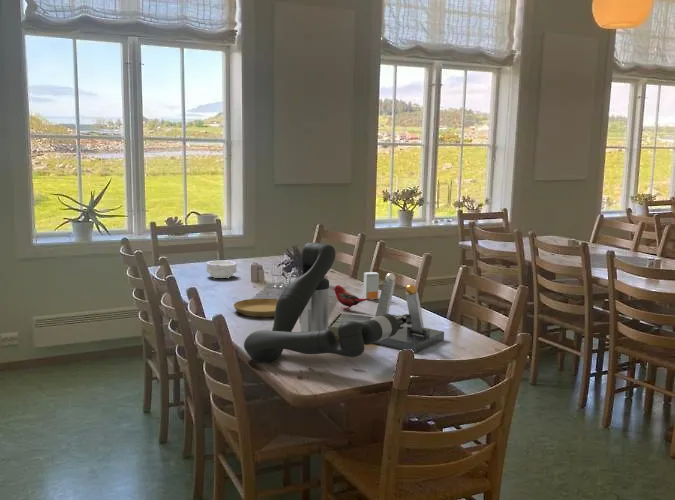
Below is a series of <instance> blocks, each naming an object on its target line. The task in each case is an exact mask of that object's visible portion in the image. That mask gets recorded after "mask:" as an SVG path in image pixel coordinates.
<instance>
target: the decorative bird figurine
mask: <svg viewBox="0 0 675 500" xmlns="http://www.w3.org/2000/svg"><path fill="white" fill-rule="evenodd" d="M332 290H333V291H334V293H335V296H336V299H337V300H338V303H340V304H341V305H343V306H344V307H342V309H343V310H347V311H350V310H351V308H352V307H353V306H357V305H358V304H360V303H361V302H364V301H368V300H369V299H364V298H359V297H358V296H356V295H355V294H353V293H350V292H348V291H347V290H345V288H344V287H342V286H341V285H339V284H338V285H337V284H336V286H335V287H334V288H333V289H332ZM369 301H370V300H369Z"/></svg>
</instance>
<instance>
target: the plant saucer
mask: <svg viewBox="0 0 675 500" xmlns="http://www.w3.org/2000/svg"><path fill="white" fill-rule="evenodd" d="M278 299H279V298H269V297H267V298H263V297H262V298H259V297H257V298H248V299H243V300H238V301H237V302H234V304H233V308H234V309H235V311H237V313H239V314H241V315H243V316H246V317H252V318H274V317H275V309H276V304H277V301H278Z"/></svg>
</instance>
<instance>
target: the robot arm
mask: <svg viewBox="0 0 675 500" xmlns="http://www.w3.org/2000/svg"><path fill="white" fill-rule="evenodd" d="M335 258H336V250H335V248H334V246H333V245H331V244H327V243H320V242H319V243H318V242H307V243H306V244H304V246H303V248H302V252H301V275H300V276H299V277H297V278H296V279H294V280H293V281H292V282H290V283H289V284H287V286H286V287H285V288H284V289H283V291H282V293H281V294H280V296H279V297H278V298H277V299H278V301H277V304H276V309H275V317H273V318H274V319H273V326H272V329H271V330H270V329H269V330H263V329H262V330H255V331H254V332H251V333H250V334H249V335H248V336H247V337H246V338H245V340H244V342H243V348H244V350H245V352H246V354H247V355H248V356H249V357H250V359H251V360H252V361H254V362H257V363H273V362H276V361H278V360H279V359H280V358H281V355H282V353H283V351H284V350H286V351H287V350H289V351H292V352H296V353H300V354H304V355H322V354H334V355H339V356H343V357H348V358H349V357H350V358H356V357H359V356H361V355H362V354H363V353H364V352H365V345H366V346H367V345H368V346H369V345H372V344H375V343H374V342H376V341H381V340H384V339H386V338H389V337H391V336H393V335H395V334H396V332H397V331H398V330H399V329H403V328H404V327H406V328H408V329H409V330H410V329H412V321H411V316H410V315H409V313H406V314H405V313H404V314H402V315H396V314H390V313H388V314H383V315H380V316H377V317H375V316H374V317H371V318H372V319H370V318H369V319H370V320H369V319H368V320H365V321H362V322H361V321H353V320H352V321H350V320H348V321H347V320H346V321H344V322H342V323H340V324H339V326H338V328H337V334H338V339H337V337H336V335H335V332H333V330H331V329H329V322H330V321H329V313H330V311H329V309H330V280H329V279H328V278H327V277H326V275H327V273H328V272H329V271H330V270H331V268H332V266H333V264H334V262H335V260H336V259H335ZM299 318H300V331H293V329H294V328H295V327H296V324H297V322H298V321H299ZM338 340H339V341H338Z"/></svg>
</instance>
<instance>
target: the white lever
mask: <svg viewBox="0 0 675 500" xmlns="http://www.w3.org/2000/svg"><path fill="white" fill-rule="evenodd" d="M395 286H396V275H395V274H394V273H392V272H389V273H387V274H386V275H385V279H383V282H382V286H381V292H380V295H379V298H378V304H377V308H376V312H375V316H374V317H377V316H380V315H383V314H389V311H390V307H391V304H392V298H393V294H394V291H395Z"/></svg>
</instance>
